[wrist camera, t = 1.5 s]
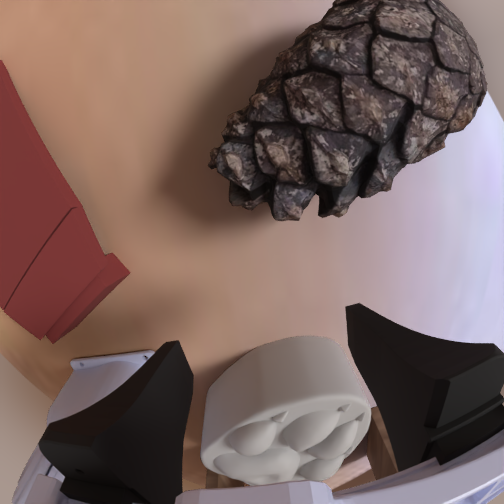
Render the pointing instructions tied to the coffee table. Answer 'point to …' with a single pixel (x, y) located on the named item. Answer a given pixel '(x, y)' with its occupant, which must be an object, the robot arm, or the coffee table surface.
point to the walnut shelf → (376, 453)
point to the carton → (44, 233)
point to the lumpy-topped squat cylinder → (284, 413)
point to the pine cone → (352, 107)
